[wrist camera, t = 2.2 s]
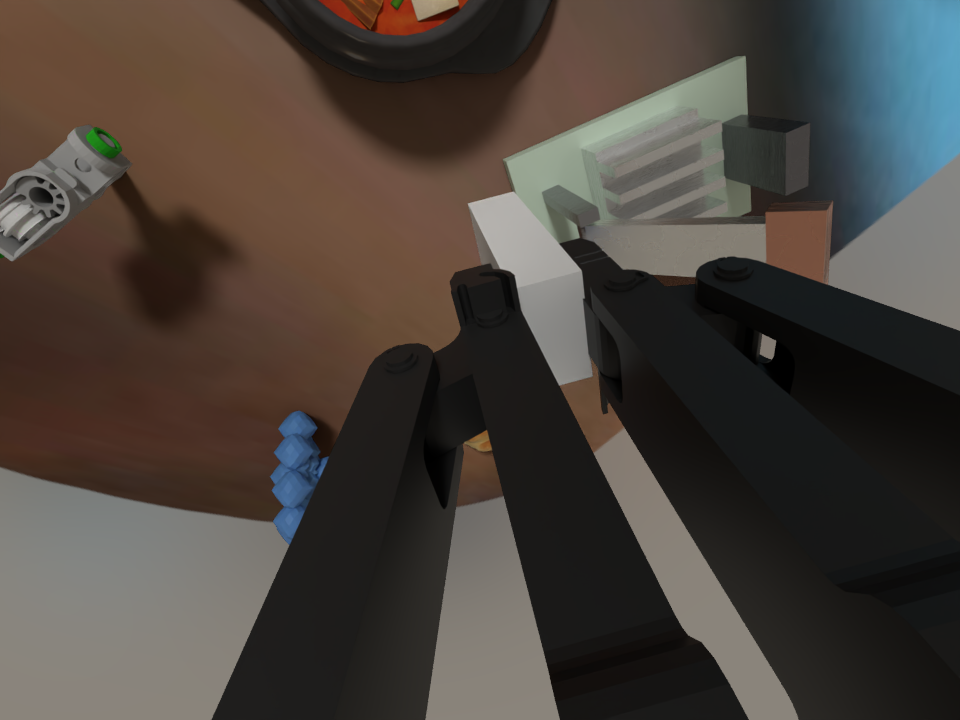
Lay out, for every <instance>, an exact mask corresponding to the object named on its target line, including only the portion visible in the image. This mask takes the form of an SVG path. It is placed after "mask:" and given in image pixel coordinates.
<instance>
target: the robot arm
mask: <svg viewBox="0 0 960 720" xmlns="http://www.w3.org/2000/svg"><path fill="white" fill-rule="evenodd" d="M468 207H469V211H470V215H471V220H472V224H473V229H474V233H475V237H476V242H477V246H478V251H479V255H480V260H481V264H482V265H481V266H477V267H474V268H470V269H466V270H462V271H458V272H455V274H454V275H453V277H452V279H451V281H450V285H451V289H452V290H451V294H452V298H453V301H454V305H455V309H456V312H457V316H458V320H459V323H460V327H461V330H460V333H459V335H458V336H457V338H456V339H455V340H454V341H453V342H452V343H450V344H449V345H448V346H446V347H444V348H442V349H441V350H439V351H437V352H435V353H433V351H432V350H431V349H430V348H429V347H428V346H426V345H422V344H419V343H416V344H404V345H398V346H395V347H392V348H390V349H388V350H386V351H385V352H383V353H382V354H381V355H379V356H378V357H377V358H375V360H374V361H373V362H372V364H371V365H370V366H369V369H368V371H367V373H366V375H365V378H364V380H363V382H362V384H361V387H360V389H359V391H358V393H357V395H356V398H355V400H354V402H353V404H352V407H351V409H350V411H349V413H348V416H347V418H346V420H345V422H344V425H343V427H342V429H341V431H340V434H339V436H338V438H337V440H336V442H335V445H334V447H333V449H332V451H331V454H330V456H329V458H328V460H327V463H326V465H325V467H324V469H323V472H322V474H321V476H320V478H319V480H318V483H317V485H316V487H315V489H314V492H313V494H312V496H311V498H310V501H309V503H308V505H307V507H306V510H305V512H304V514H303V516H302V519H301V521H300V523H299V525H298V527H297V530H296V532H295V534H294V536H293V539H292V541H291V543H290V545H289V548H288V550H287V552H286V555H285V557H284V559H283V561H282V563H281V566H280V568H279V570H278V572H277V574H276V577H275V579H274V581H273V583H272V586H271V588H270V590H269V593H268V595H267V597H266V599H265V602H264V604H263V606H262V608H261V610H260V613H259V615H258V617H257V619H256V621H255V624H254V626H253V628H252V630H251V633H250V635H249V637H248V639H247V642H246V644H245V646H244V648H243V651H242V653H241V655H240V658H239V660H238V662H237V664H236V666H235V669H234V671H233V673H232V675H231V677H230V680H229V682H228V684H227V686H226V689H225V691H224V693H223V695H222V698H221V700H220V702H219V704H218V707H217V709H216V711H215V713H214V715H213V718H212V720H425V718H426V711H427V704H428V697H429V690H430V684H431V676H432V669H433V663H434V656H435V649H436V642H437V635H438V627H439V620H440V614H441V607H442V599H443V593H444V586H445V580H446V572H447V566H448V559H449V551H450V545H451V537H452V530H453V524H454V517H455V510H456V503H457V496H458V489H459V482H460V475H461V469H462V462H463V455H464V451H463V443H464V442H466V441H468V440H470V439H472V438H474V437H475V436H477V435H479V434H481V433H483V432H484V431H486V430H487V432H488V436H489V440H490V444H491V448H492V452H493V456H494V460H495V464H496V467H497V471H498V475H499V479H500V483H501V487H502V491H503V495H504V499H505V502H506V506H507V510H508V514H509V518H510V522H511V526H512V530H513V534H514V538H515V542H516V546H517V549H518V553H519V557H520V561H521V565H522V569H523V573H524V577H525V581H526V584H527V588H528V592H529V596H530V600H531V604H532V607H533V612H534V615H535V619H536V624H537V627H538V631H539V635H540V639H541V643H542V647H543V651H544V655H545V659H546V663H547V667H548V671H549V675H550V680H551V685H552V689H553V693H554V697H555V701H556V705H557V709H558V713H559V717H560V720H749V719H748V717H747V716H746V714H745V712H744V710H743V708H742V706H741V704H740V702H739V701H738V699H737V697H736V695H735V693H734V691H733V689H732V688H731V686H730V684H729V682H728V680H727V679H726V677H725V675H724V674H723V672H722V670H721V669H720V667H719V665H718V664H717V662H716V660H715V659H714V657H713V656H712V655H711V653H710V652H709V651H708V650H707V649H706V647H705V646H704V645H703V644H702V642H700V641H698V640H695V639H694V638H692V637H690V636H688V635H687V633H686V632H685V631H684V629H683V628H682V626H681V625H680V623H679V621H678V619H677V618H676V616H675V614H674V612H673V610H672V608H671V606H670V604H669V602H668V600H667V598H666V596H665V594H664V592H663V590H662V588H661V587H660V585H659V582H658V580H657V578H656V576H655V574H654V572H653V570H652V568H651V566H650V564H649V563H648V561H647V559H646V557H645V555H644V553H643V551H642V549H641V547H640V545H639V543H638V541H637V539H636V537H635V535H634V533H633V531H632V529H631V527H630V525H629V523H628V521H627V519H626V517H625V515H624V513H623V511H622V509H621V507H620V505H619V503H618V501H617V499H616V497H615V495H614V493H613V491H612V489H611V487H610V485H609V483H608V481H607V479H606V478H605V475H604V474H603V472H602V470H601V467H600V466H599V464H598V462H597V460H596V458H595V456H594V454H593V452H592V450H591V448H590V446H589V444H588V442H587V440H586V438H585V436H584V434H583V432H582V430H581V428H580V426H579V424H578V422H577V420H576V418H575V416H574V414H573V412H572V410H571V408H570V406H569V404H568V402H567V400H566V398H565V396H564V394H563V392H562V390H561V388H560V386H559V385H563V384H567V383H570V382H574V381H578V380H581V379H585V378H589V377H593V375H592V365H591V358H592V360H593V361H594V363H595V364H596V366H597V367H598V375H599V386H600V397H601V408H602V412H603V414H606V413H608V409H607V405H608V403H610V404H611V406H612V408H613V409H614V411H615V413H616V414H617V416H618V418H619V419H620V421H621V422H622V424H623V426H624V427H625V429H626V431H627V432H628V434H629V435H630V437H631V439H632V440H633V442H634V444H635V445H636V447H637V449H638V450H639V452H640V453H641V455H642V457H643V458H644V460H645V461H646V463H647V465H648V467H649V468H650V470H651V471H652V473H653V475H654V476H655V478H656V480H657V481H658V483H659V485H660V486H661V488H662V489H663V491H664V493H665V494H666V496H667V497H668V499H669V501H670V502H671V504H672V506H673V507H674V509H675V511H676V512H677V514H678V516H679V517H680V519H681V520H682V522H683V524H684V525H685V527H686V529H687V530H688V532H689V534H690V535H691V537H692V538H693V540H694V542H695V543H696V545H697V546H698V548H699V550H700V551H701V553H702V555H703V556H704V558H705V559H706V561H707V563H708V565H709V566H710V568H711V569H712V571H713V573H714V574H715V576H716V578H717V579H718V581H719V582H720V584H721V586H722V587H723V589H724V591H725V592H726V594H727V595H728V597H729V599H730V601H731V602H732V604H733V605H734V607H735V608H736V610H737V612H738V614H739V615H740V617H741V618H742V620H743V622H744V623H745V625H746V627H747V628H748V630H749V632H750V633H751V635H752V636H753V638H754V640H755V641H756V643H757V644H758V646H759V648H760V649H761V651H762V653H763V654H764V656H765V658H766V659H767V661H768V662H769V664H770V666H771V667H772V669H773V671H774V672H775V674H776V676H777V677H778V679H779V680H780V682H781V684H782V685H783V687H784V689H785V690H786V692H787V694H788V696H789V697H790V700H791V701H792V703H793V706H794V708H795V710H796V713H797V715H798V719H799V720H960V331H958V330H956V329H953V328H950V327H947V326H944V325H941V324H938V323H936V322H932V321H930V320H927V319H924V318H921V317H918V316H915V315H913V314H910V313H907V312H904V311H901V310H898V309H895V308H893V307H890V306H887V305H884V304H881V303H878V302H875V301H873V300H869V299H867V298H864V297H861V296H858V295H855V294H852V293H850V292H847V291H844V290H841V289H838V288H835V287H832V286H830V285H827V284H824V283H821V282H818V281H815V280H812V279H810V278H807V277H804V276H801V275H798V274H795V273H792V272H790V271H787V270H784V269H781V268H778V267H775V266H772V265H769V264H767V263H764V262H761V261H758V260H753V259H749V258H739V257H735V256H730V257H727V258H725V257H722V258H718V259H716V260H712V261H709V262H706V263H705V264H703V265H701V266H700V267H699V268H698V270H697V271H696V282H695V284H690V285H679V286H664V285H663V284H662V283H661V282H659V281H658V280H657V279H656V278H655V277H654V276H653V275H651V274H649V273H647V272H645V271H641V270H635V269H622V268H621V267H620V266H619V265H618V264H617V263H616V262H615V261H614V260H613V259H612V258H610V257H608V255H607V254H606V253H605V252H604V251H602V249H601V248H600V247H599V246H598V245H597V244H596V243H595V242H592V241H589V240H586V239H583V238H577V239H574V240H570V241H566V242H562V243H558V242H557V241H556V240H555V239H554V238H553V237H552V235H551V234H550V233H549V232H548V231H547V230H546V228H545V227H544V226H543V225H542V224H541V223H540V221H539V220H538V219H537V218H536V217H535V216H534V214H533V213H532V212H531V211H530V210H529V209H528V207H527V206H526V205H525V204H524V203H523V202H522V201H521V199H520V198H519V197H518V196H517V195H516V194H515V192H510V193H506V194H503V195H499V196H495V197H491V198H487V199H484V200H480V201H476V202H472V203H468ZM762 334H764V335H766V336H768V337H770V338H772V339H774V340H776V346H775V353H774V357H773V359H772V360H771V359H768V358H766V357H764V356H762V355H760V347H761V339H762Z"/></svg>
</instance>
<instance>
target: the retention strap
mask: <svg viewBox="0 0 960 720" xmlns="http://www.w3.org/2000/svg"><path fill="white" fill-rule="evenodd" d="M832 210H833V200H830V201H804V202H778V203H772V204H771V205H770V207H769V208H768V209H767V211H766V212H765V216H748V217H702V218H655V219H608V220H598V221H596V222H593V223H591V224H589V225H587V226H584V227H582V228H580V227H579V226H577V229H578V233H579V237H580V238H583V239H586V240H589V241H592V242H595V243H596V244H597V245H598V246H599V247H600V248H601V249H602V251H604V252H605V253H606V254H607V255H608V257H610V258H612V259H613V260H614V261H615V262H616V263H617V264H618V265H619V266H620V267H621V268H622V269H635V270H641V271H645V272H647V273H649V274H653V275H669V276H685V277H696V271H697V270H698V268H699V267H700V266H701V265H703V264H705V263H706V262H709V261H712V260H716V259H718V258H722V257H725V258H727V257H730V256H735V257H739V258H749V259H753V260H758V261H761V262H764V263H767V264H769V265H772V266H775V267H778V268H781V269H784V270H787V271H790V272H792V273H795V274H798V275H801V276H804V277H807V278H810V279H812V280H815V281H818V282H821V283H824V284H827V285H828V275H829V259H830V243H831V227H832Z"/></svg>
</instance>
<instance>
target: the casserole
mask: <svg viewBox="0 0 960 720" xmlns="http://www.w3.org/2000/svg"><path fill="white" fill-rule="evenodd" d="M260 1H261V2H262V3H263V4H264V5H265V6H266V7H267V8H268V10H269V11H270V12H271V13H272V14H273V15H274V16H275V17H276V18H277V19H278V20H279V21H280V22H281V23H282V24H283V25H284V26H285V27H286V28H287V29H288V31H289V32H290V33H291V34H292V35H293V36H294V37H295V38H296V39H297V40H298V41H299V42H300V43H301V44H302V45H303V46H304V47H306V48H307V49H309V50H310V51H311V52H313V53H314V54H315V55H317V56H318V57H319V58H321V59H322V60H324V61H325V62H326V63H328V64H330V65H332V66H334V67H336V68H338V69H340V70H343V71H345V72H347V73H349V74H351V75H353V76H357V77H361V78H365V79H369V80H373V81H377V82H398V83H404V82H409V81H414V80H419V79H424V78H428V77H433V76H438V75H443V74H447V73H465V74H489V73H497V72H499V71H501V70H503V69H505V68H507V67H509V66H511V65H513V64H514V63H515V62H516V60H517V59H518V58H519V57H520V56H521V55H522V54H523V53H524V52H525V51H526V50H527V49H528V47H529V45H530V44H531V42H532V40H533V39H534V37H535V36H536V34H537V32H538V31H539V29H540V27H541V26H542V23H543V21H544V18H545V16H546V14H547V11H548V9H549V6H550V4H551V2H552V0H260Z"/></svg>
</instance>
